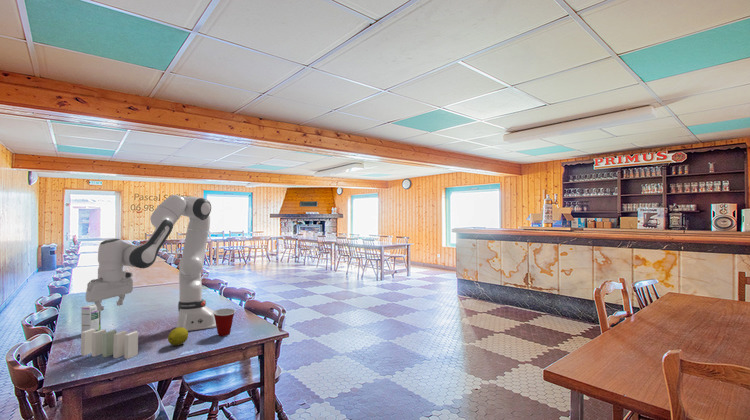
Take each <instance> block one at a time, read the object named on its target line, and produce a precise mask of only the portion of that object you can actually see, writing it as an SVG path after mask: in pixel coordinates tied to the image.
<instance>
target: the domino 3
mask: <svg viewBox="0 0 750 420" xmlns="http://www.w3.org/2000/svg"><path fill="white" fill-rule="evenodd" d="M116 333H118V332H117V329H112V330H110V331H106V333H103V354H102V358H108V357H110V356H112V355H113V344H114V334H116Z"/></svg>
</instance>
